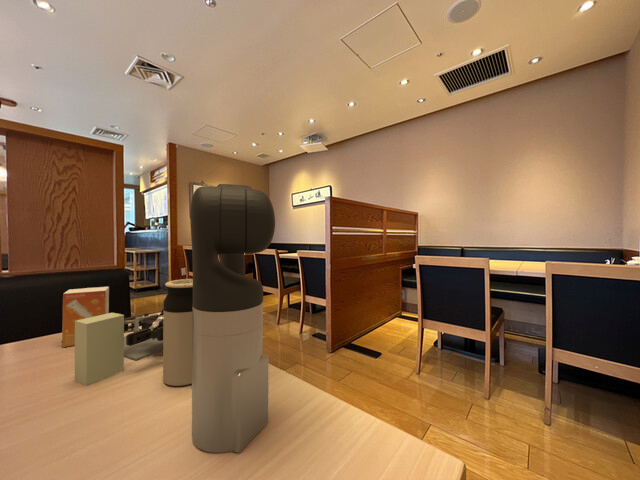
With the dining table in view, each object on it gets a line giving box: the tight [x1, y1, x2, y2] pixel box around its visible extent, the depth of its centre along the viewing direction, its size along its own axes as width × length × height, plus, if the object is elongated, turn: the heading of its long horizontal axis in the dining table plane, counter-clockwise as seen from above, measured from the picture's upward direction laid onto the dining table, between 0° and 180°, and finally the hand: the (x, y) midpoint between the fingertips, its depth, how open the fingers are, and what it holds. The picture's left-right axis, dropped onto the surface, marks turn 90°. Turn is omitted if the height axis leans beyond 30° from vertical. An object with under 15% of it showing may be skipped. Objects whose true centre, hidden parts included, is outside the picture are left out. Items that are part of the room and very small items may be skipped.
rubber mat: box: [124, 335, 163, 362], centre depth 64 cm, size 16×11×1 cm
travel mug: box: [162, 278, 193, 387], centre depth 49 cm, size 8×8×18 cm
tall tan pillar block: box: [74, 312, 125, 387], centre depth 49 cm, size 4×6×11 cm, turn 155°
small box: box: [61, 286, 110, 348], centre depth 66 cm, size 8×6×13 cm
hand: (114, 337), depth 52 cm, fingers open, 8 cm apart
